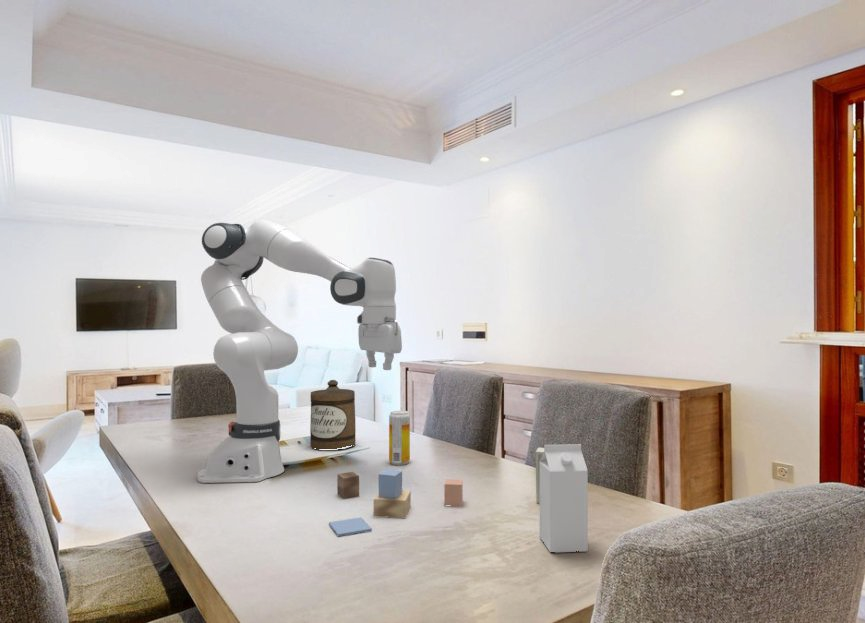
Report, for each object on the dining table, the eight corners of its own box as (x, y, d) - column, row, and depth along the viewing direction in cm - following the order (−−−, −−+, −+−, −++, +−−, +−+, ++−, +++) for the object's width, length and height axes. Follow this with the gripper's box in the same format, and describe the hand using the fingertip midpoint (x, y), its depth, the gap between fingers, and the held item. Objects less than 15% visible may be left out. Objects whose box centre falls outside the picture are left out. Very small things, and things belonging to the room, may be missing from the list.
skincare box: (564, 500, 132) (564, 448, 132) (562, 506, 128) (562, 453, 128) (537, 497, 134) (537, 446, 134) (535, 503, 130) (535, 450, 130)
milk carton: (539, 538, 109) (539, 440, 109) (574, 537, 110) (574, 440, 110) (550, 553, 102) (550, 449, 102) (587, 552, 103) (587, 448, 103)
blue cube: (378, 497, 123) (378, 474, 123) (385, 491, 127) (385, 469, 127) (395, 498, 122) (395, 475, 122) (402, 493, 125) (402, 471, 125)
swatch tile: (337, 536, 110) (337, 534, 110) (328, 524, 116) (328, 522, 116) (371, 531, 113) (371, 528, 113) (361, 519, 119) (361, 517, 119)
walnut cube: (343, 499, 133) (343, 478, 133) (337, 494, 136) (337, 474, 136) (359, 496, 135) (359, 475, 135) (352, 492, 138) (352, 471, 138)
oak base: (373, 517, 121) (373, 499, 121) (380, 506, 128) (380, 489, 128) (405, 519, 120) (405, 500, 120) (410, 508, 127) (410, 490, 127)
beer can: (411, 460, 168) (411, 410, 168) (408, 466, 162) (408, 414, 162) (391, 460, 168) (391, 410, 169) (387, 465, 162) (387, 413, 163)
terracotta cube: (444, 506, 128) (444, 484, 128) (445, 500, 132) (445, 479, 132) (461, 506, 128) (461, 484, 128) (462, 500, 132) (462, 479, 132)
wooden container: (302, 449, 182) (302, 381, 182) (323, 439, 196) (323, 377, 196) (343, 452, 178) (343, 383, 178) (362, 442, 192) (362, 378, 192)
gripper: (407, 317, 144) (407, 371, 144) (374, 317, 162) (374, 365, 162) (385, 317, 141) (385, 372, 141) (354, 317, 159) (354, 366, 159)
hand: (379, 368), depth 152 cm, fingers open, 8 cm apart
